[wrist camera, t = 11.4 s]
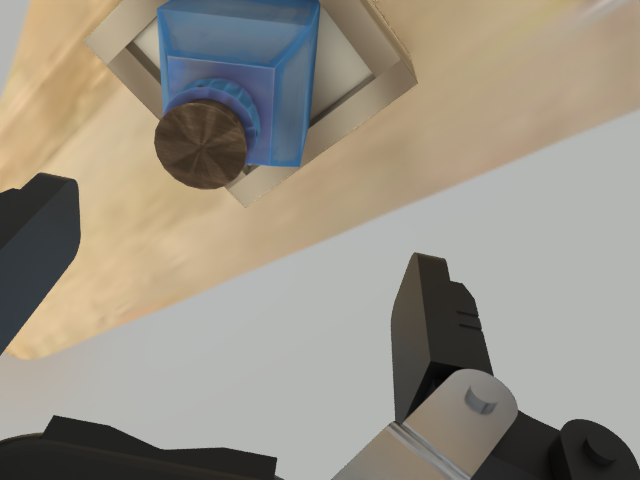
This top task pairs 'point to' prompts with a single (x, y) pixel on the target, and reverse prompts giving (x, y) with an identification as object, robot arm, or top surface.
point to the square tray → (328, 87)
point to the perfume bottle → (234, 86)
